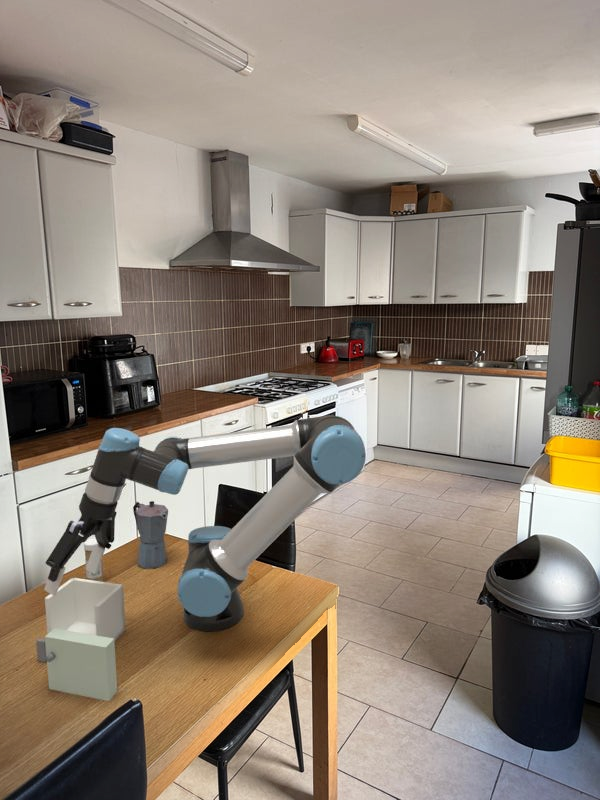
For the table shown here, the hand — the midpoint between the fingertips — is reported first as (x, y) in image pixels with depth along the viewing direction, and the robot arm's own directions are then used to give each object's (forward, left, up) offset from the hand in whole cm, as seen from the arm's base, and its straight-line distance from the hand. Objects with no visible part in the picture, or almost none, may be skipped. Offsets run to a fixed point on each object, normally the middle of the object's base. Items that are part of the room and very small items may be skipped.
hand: (71, 581), depth 125 cm
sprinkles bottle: (+13, -27, -17) cm, 35 cm away
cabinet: (0, -2, -17) cm, 17 cm away
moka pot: (+5, -44, -17) cm, 47 cm away
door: (-10, +11, -17) cm, 23 cm away
